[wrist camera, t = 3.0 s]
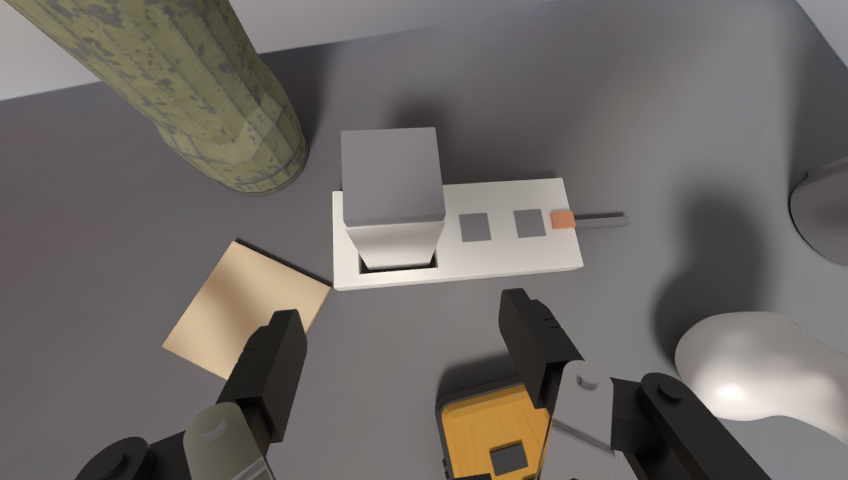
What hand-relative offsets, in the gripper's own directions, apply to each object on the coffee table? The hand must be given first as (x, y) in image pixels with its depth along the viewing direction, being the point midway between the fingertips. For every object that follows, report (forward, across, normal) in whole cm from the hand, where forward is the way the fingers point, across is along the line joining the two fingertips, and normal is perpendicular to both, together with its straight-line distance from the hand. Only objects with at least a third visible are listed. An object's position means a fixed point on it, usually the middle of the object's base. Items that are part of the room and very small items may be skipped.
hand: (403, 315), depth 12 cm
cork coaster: (+10, +12, +8) cm, 18 cm away
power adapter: (+14, 0, +4) cm, 15 cm away
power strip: (+14, -8, +4) cm, 17 cm away
